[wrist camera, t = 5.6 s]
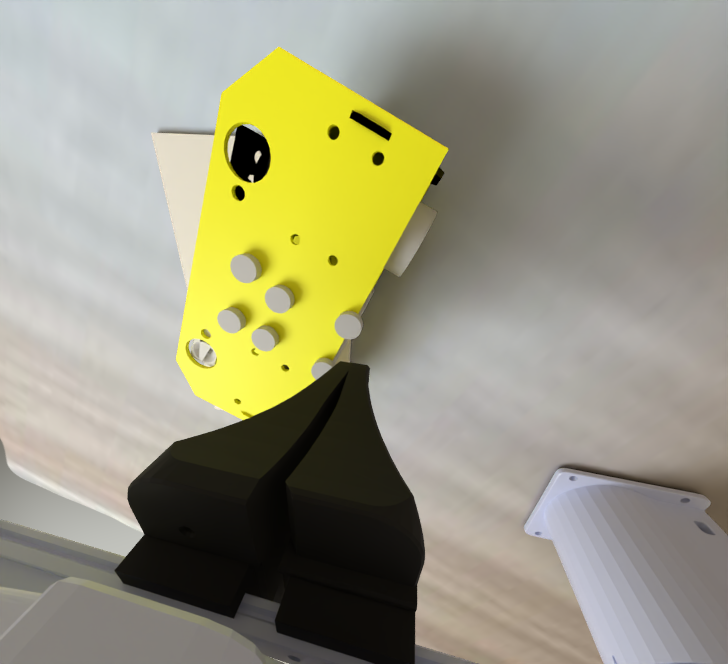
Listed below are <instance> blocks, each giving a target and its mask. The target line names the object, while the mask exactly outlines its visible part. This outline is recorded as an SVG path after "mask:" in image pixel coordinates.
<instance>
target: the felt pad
mask: <svg viewBox="0 0 728 664" xmlns="http://www.w3.org/2000/svg"><path fill="white" fill-rule="evenodd" d="M151 134H152V139H153V143H154V147H155V152H156V156H157V160H158V165H159V169H160V173H161V178H162V182H163V186H164V191H165V195H166V199H167V204H168V208H169V212H170V217H171V221H172V225H173V230H174V234H175V238H176V243H177V247H178V251H179V256H180V260H181V264H182V269H183V273H184V277H185V282H186V286H187V290H188V286H189V280H190V274H191V268H192V263H193V257H194V251H195V245H196V239H197V234H198V228H199V222H200V216H201V210H202V204H203V199H204V193H205V187H206V181H207V175H208V170H209V164H210V158H211V152H212V146H213V140H214V135H198V134H173V133H151ZM264 138H265V137H264ZM234 140H235V136H230V138H229V141H228V157H229V161H230V160H231V155H232V150H233V145H234ZM260 156H261V153H260V151H257V152H256V154H255V161H256V163H257V161H258V159H259V158H260ZM253 178H254V175H250V176H249V178H248V179H250V180H251V182H252V183H253ZM211 349H212V348H211ZM212 350H213V349H212ZM350 352H351V340H349V339H348V340H347V342H346V344H345V346H344V348H343V350H342V352H341V353H340V355H339V357H338V359H337V361H336V363H335V364H337V363H338V362H340V361H343V362H349V363H350ZM204 364H205V363H204ZM205 366H208V367H211V366H209V365H207V364H205ZM214 407H215V409H219V410H223V409H221V408H219V407H217V406H215V405H214ZM224 411H225V410H224Z"/></svg>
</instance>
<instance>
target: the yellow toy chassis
mask: <svg viewBox="0 0 728 664" xmlns="http://www.w3.org/2000/svg"><path fill="white" fill-rule="evenodd" d="M242 124H251V125H254V126H256V127H257V128H258V129H259V130H261V132H262V133H263V135H264V136H265V138H264V137H263V136H261V135H259V134H258V133H256V132H254V131H252V130H251V129H249V128H247V127H245V126H243V125H242ZM235 128H237V130H236V135H235V140H234V145H233V150H232V155H231V160H230V161H229V157H228V141H229V138H230V135H231V133H232V132H233V131H234V129H235ZM448 150H449V149H448V148H447V147H445V146H443V145H442V144H440V143H438V142H437V141H435V140H433V139H432V138H430V137H428V136H427V135H425V134H423V133H422V132H420V131H418V130H417V129H415V128H413V127H412V126H410V125H408V124H407V123H405V122H403V121H402V120H400V119H398V118H397V117H395V116H393V115H392V114H390V113H388V112H387V111H385V110H383V109H382V108H380V107H378V106H377V105H375V104H373V103H372V102H370V101H368V100H367V99H365V98H363V97H362V96H360V95H358V94H357V93H355V92H353V91H352V90H350V89H348V88H347V87H345V86H343V85H342V84H340V83H338V82H337V81H335V80H333V79H332V78H330V77H329V76H327V75H325V74H324V73H322V72H320V71H319V70H317V69H315V68H314V67H312V66H310V65H309V64H307V63H305V62H304V61H302V60H300V59H299V58H297V57H295V56H294V55H292V54H290V53H289V52H287V51H285V50H284V49H282V48H280V47H278V48H277V49H275V50H274V51H273V52H272V53H270V54H269V55H268V56H267V57H265V58H264V59H263V60H262V61H260V62H259V63H258V64H257V65H256V66H254V67H253V68H252V69H251V70H249V71H248V72H247V73H246V74H244V75H243V76H242V77H241V78H239V79H238V80H237V81H236V82H234V83H233V84H232V85H231V86H230V87H228V88H227V89H226V90H225V91H223V92H222V94H221V100H220V106H219V111H218V117H217V123H216V129H215V135H214V140H213V146H212V152H211V158H210V164H209V170H208V175H207V181H206V187H205V193H204V199H203V204H202V210H201V216H200V222H199V228H198V234H197V239H196V245H195V251H194V257H193V263H192V268H191V274H190V280H189V286H188V292H187V297H186V303H185V309H184V315H183V321H182V327H181V332H180V338H179V344H178V350H177V356H176V361H177V363H178V365H179V366H180V368H181V370H182V372H183V374H184V375H185V377H186V379H187V381H188V383H189V384H190V386H191V388H192V390H193V392H194V394H195V395H196V396H198V397H200V398H202V399H204V400H206V401H207V402H209V403H211V404H213V405H215V406H217V407H219V408H221V409H223V410H225V411H226V412H228V413H230V414H232V415H234V416H236V417H238V418H240V419H242V420H245V419H248V418H250V417H252V416H254V415H257V414H259V413H261V412H263V411H265V410H268V409H270V408H272V407H274V406H276V405H278V404H280V403H281V402H283V401H285V400H287V399H289V398H290V397H292V396H294V395H295V394H297V393H298V392H300V391H301V390H303V389H304V388H306V387H307V386H309V385H310V384H311V383H313V382H314V381H315V380H317V379H318V378H319V377H321V376H322V375H323V374H325V373H326V372H327V371H328V370H330V369H331V368H332V367H333V366H335V365H336V364H335V363H336V361H337V359H338V357H339V355H340V353H341V352H342V350H343V348H344V346H345V344H346V342H347V340H348V339H349V340H351V339H355V338H356V337H358V336H359V334H360V333H361V331H362V328H363V321H362V318H361V316H362V314H363V312H364V310H365V308H366V307H367V305H368V303H369V301H370V299H371V297H372V295H373V293H374V289H373V288H374V286H375V284H376V282H377V280H378V279H379V277H380V275H381V273H382V271H383V270H384V269H386V270H388V271H390V272H391V273H393V274H395V275H397V276H398V277H400V276H401V275H402V273H403V272H404V271H405V269H406V268H407V266H408V265H409V263H410V261H411V260H412V258H413V256H414V255H415V253H416V252H417V250H418V248H419V246H420V245H421V243H422V241H423V240H424V238H425V236H426V234H427V232H428V231H429V229H430V227H431V225H432V223H433V221H434V219H435V217H436V215H437V211H435V210H433V209H432V208H430V207H428V206H427V205H425V204H423V203H422V202H421V201H422V199H423V197H424V195H425V193H426V191H427V190H428V188H429V186H430V184H433V185H437V184H438V182H439V181H440V180H441V178H442V176H443V175H444V172H443V171H442V169H441V168H440V167H439V166H440V164H441V162H442V161H443V159H444V157H445V155H446V153H447V151H448ZM257 151H260V153H261V156H260V158H259V159H258V161H257V163H256V161H255V154H256V152H257ZM250 175H254V178H253V183H252V182H251V180H250V179H248V178H249V176H250ZM191 339H194V340H193V345H192V350H191V354H190V351H189V342H190V340H191ZM211 348H212V349H213V350H212V349H211ZM193 357H194V358H196V359H198V360H200V361H202V362H203V363H205V364H207V365H209V366H211V367H208V366H204V365H201V364H200V363H198V362H197V361H196V360H195V359H194V358H193Z"/></svg>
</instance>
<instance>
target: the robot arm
mask: <svg viewBox="0 0 728 664" xmlns="http://www.w3.org/2000/svg"><path fill="white" fill-rule="evenodd" d="M369 371H370V368H369V367H368V365H362V364H356V363H349V362H343V361H340V362H338V363H337V364H336V365H335V366H333V367H332V368H331V369H330V370H328V371H327V372H326V373H325V374H323V375H322V376H321V377H319V378H318V379H317V380H315V381H314V382H313V383H311V384H310V385H309V386H307V387H306V388H304V389H303V390H301V391H300V392H298V393H297V394H295V395H294V396H292V397H290V398H289V399H287V400H285V401H283V402H281V403H280V404H278V405H276V406H274V407H272V408H270V409H268V410H265V411H263V412H261V413H259V414H257V415H254V416H252V417H250V418H248V419H245V420H243V421H240V422H237V423H235V424H232V425H229V426H226V427H224V428H221V429H218V430H215V431H212V432H208V433H205V434H201V435H198V436H194V437H191V438H187V439H184V440H180V441H176V442H174V443H173V444H172V445H171V446H170V447H169V448H168V449H167V450H165V451H164V452H163V453H162V454H161V455H160V456H159V457H158V458H157V459H156V460H155V461H154V462H153V463H152V464H151V465H150V466H148V467H147V468H146V469H145V470H144V471H143V472H142V473H141V474H140V475H139V476H138V477H137V478H136V479H135V480H134V481H133V482H132V483H131V484H130V486H129V487H128V498H127V499H128V502H129V505H130V507H131V509H132V511H133V513H134V515H135V517H136V519H137V521H138V523H139V524H140V526H141V528H142V530H143V532H144V534H145V535H144V536H143V537H142V538H141V539H140V541H139V542H138V543H137V544H136V545H135V547H134V548H133V549H132V550H131V551H130V552H129V554H128V555H127V556H126V557H124V556H121V555H117V554H114V553H111V552H108V551H104V550H101V549H98V548H94V547H91V546H88V545H84V544H81V543H78V542H75V541H71V540H68V539H65V538H61V537H58V536H55V535H51V534H48V533H45V532H41V531H38V530H35V529H31V528H28V527H25V526H22V525H18V524H15V523H12V522H8V521H5V520H2V519H0V664H284V663H282V662H280V661H283V662H286V663H289V664H478V663H475V662H471V661H468V660H465V659H462V658H458V657H455V656H452V655H448V654H445V653H442V652H438V651H435V650H432V649H428V648H425V647H422V646H419V645H415V612H416V610H417V583H418V580H419V577H420V574H421V571H422V568H423V565H424V560H425V547H424V539H423V533H422V528H421V523H420V519H419V515H418V511H417V507H416V504H415V500H414V496H413V494H412V493H411V491H410V490H409V488H408V487H407V485H406V483H405V482H404V480H403V478H402V477H401V475H400V473H399V471H398V470H397V468H396V466H395V464H394V462H393V460H392V458H391V456H390V454H389V452H388V450H387V448H386V446H385V443H384V441H383V439H382V436H381V434H380V431H379V429H378V426H377V423H376V420H375V416H374V413H373V409H372V405H371V400H370V394H369V387H368V382H369ZM710 504H711V501H710V500H709V499H708V498H707V497H706V496H704V495H702V494H697V493H691V492H686V491H681V490H676V489H671V488H666V487H661V486H655V485H650V484H645V483H640V482H635V481H630V480H625V479H619V478H614V477H609V476H604V475H599V474H594V473H589V472H583V471H578V470H573V469H568V468H560V469H558V470H557V471H556V472H555V474H554V476H553V477H552V479H551V481H550V483H549V484H548V486H547V488H546V489H545V491H544V493H543V495H542V496H541V498H540V500H539V501H538V503H537V505H536V507H535V508H534V510H533V512H532V514H531V515H530V517H529V519H528V520H527V522H526V524H525V526H524V529H525V532H526V533H527V534H529V535H532V536H536V537H541V538H545V539H549V540H552V541H553V543H554V545H555V548H556V550H557V553H558V555H559V557H560V560H561V562H562V565H563V567H564V569H565V572H566V574H567V577H568V579H569V581H570V584H571V586H572V589H573V591H574V593H575V596H576V598H577V601H578V603H579V605H580V608H581V610H582V613H583V615H584V618H585V620H586V622H587V625H588V627H589V630H590V632H591V634H592V637H593V639H594V642H595V644H596V646H597V649H598V651H599V654H600V656H601V658H602V661H603V663H604V664H728V535H727V534H726V533H725V532H724V531H723V530H722V529H721V528H720V527H719V526H718V525H717V524H716V522H715V521H714V520H713V519H712V518H711V517H710V516H709V515H708V514H707V513H706V512H705V510H706V509H707V508H708V507H709V506H710ZM270 657H271V658H270ZM273 658H274V659H273ZM275 659H278V660H280V661H277V660H275Z"/></svg>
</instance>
